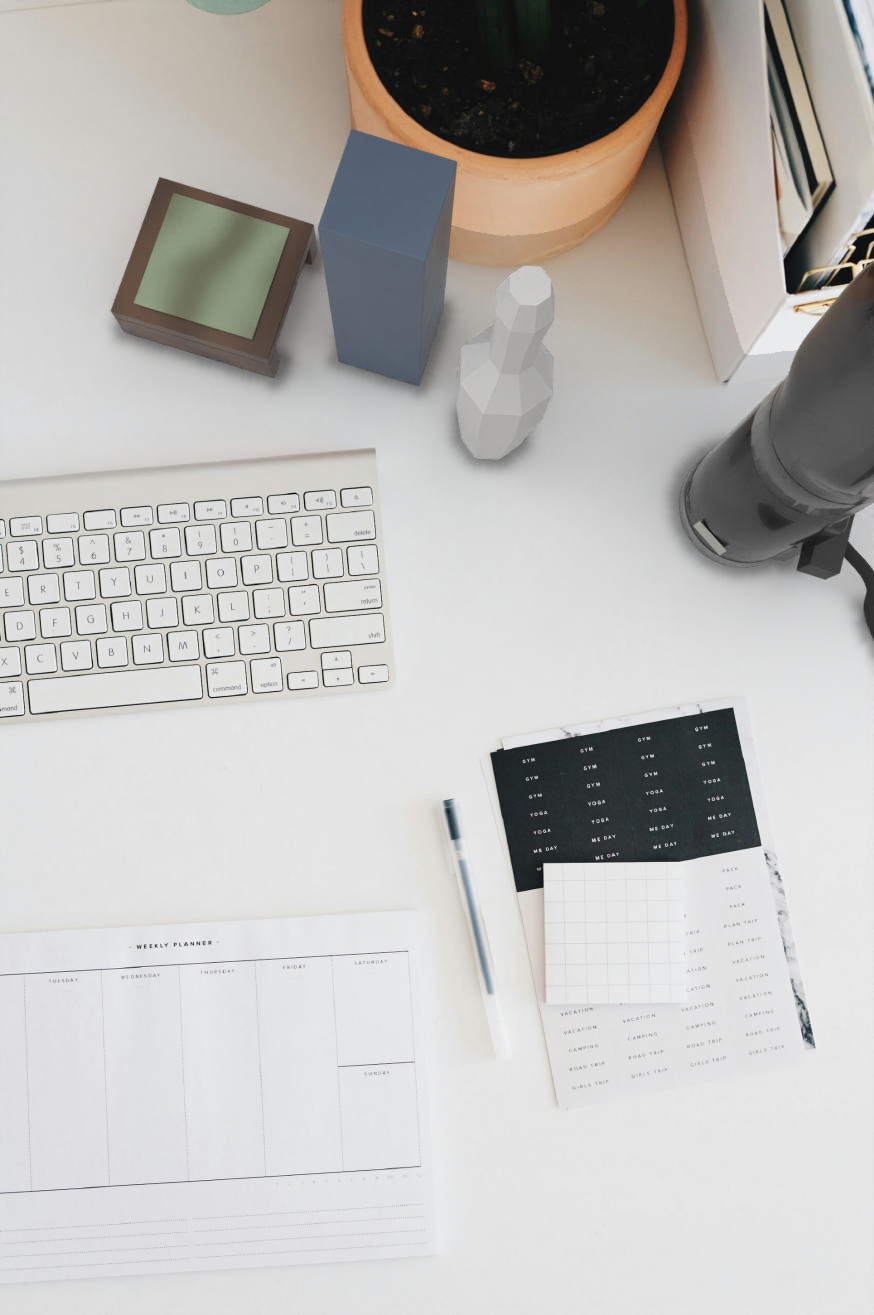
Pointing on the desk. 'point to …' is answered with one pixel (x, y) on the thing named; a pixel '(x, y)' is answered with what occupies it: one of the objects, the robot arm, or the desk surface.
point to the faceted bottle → (508, 368)
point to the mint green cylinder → (227, 6)
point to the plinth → (387, 253)
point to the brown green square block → (213, 276)
